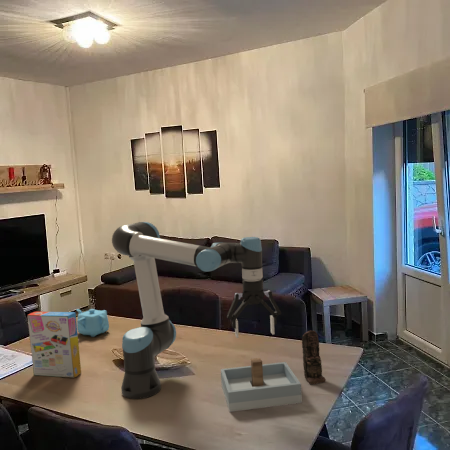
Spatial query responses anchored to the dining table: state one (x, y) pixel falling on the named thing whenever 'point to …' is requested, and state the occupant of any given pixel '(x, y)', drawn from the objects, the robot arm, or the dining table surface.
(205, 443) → the dining table surface
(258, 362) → the peg
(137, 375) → the robot arm
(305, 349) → the statue
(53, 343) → the game box
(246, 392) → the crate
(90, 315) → the teapot
